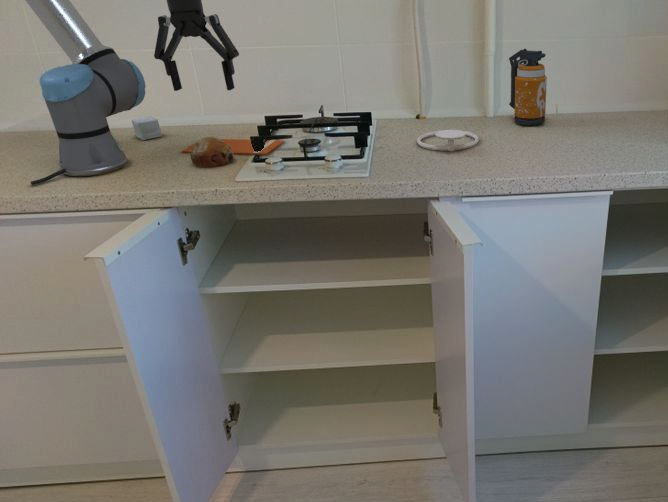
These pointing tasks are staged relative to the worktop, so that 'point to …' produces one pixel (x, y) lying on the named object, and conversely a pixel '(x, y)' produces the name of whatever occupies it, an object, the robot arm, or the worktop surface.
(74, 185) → the worktop surface
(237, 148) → the tea towel
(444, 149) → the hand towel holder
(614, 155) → the worktop surface
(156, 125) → the small box
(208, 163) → the bread roll
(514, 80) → the canister
